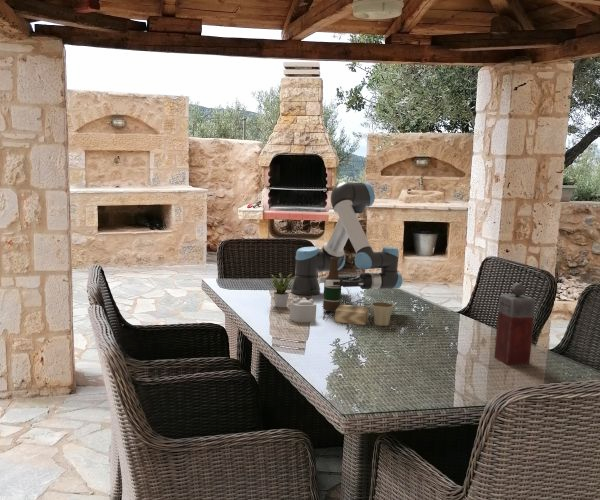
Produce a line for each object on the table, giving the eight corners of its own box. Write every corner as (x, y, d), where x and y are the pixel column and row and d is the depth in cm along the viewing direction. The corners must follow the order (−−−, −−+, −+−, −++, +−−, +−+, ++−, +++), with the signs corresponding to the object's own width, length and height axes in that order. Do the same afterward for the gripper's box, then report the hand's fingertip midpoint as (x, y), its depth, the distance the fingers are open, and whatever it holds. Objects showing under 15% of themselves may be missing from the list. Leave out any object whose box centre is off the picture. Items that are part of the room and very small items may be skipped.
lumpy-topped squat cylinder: (294, 322, 279) (295, 302, 278) (286, 315, 291) (287, 296, 290) (317, 322, 282) (319, 302, 281) (308, 315, 294) (309, 295, 293)
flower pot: (391, 328, 277) (393, 307, 276) (369, 325, 279) (370, 305, 278) (393, 322, 287) (394, 303, 285) (371, 320, 288) (372, 301, 287)
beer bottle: (340, 311, 298) (343, 259, 295) (322, 311, 298) (325, 258, 295) (339, 308, 306) (342, 256, 303) (322, 307, 306) (325, 255, 303)
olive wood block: (334, 321, 283) (335, 310, 283) (339, 315, 296) (339, 304, 295) (365, 324, 281) (366, 313, 280) (368, 318, 293) (369, 307, 293)
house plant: (300, 304, 316) (301, 270, 314) (297, 310, 302) (298, 274, 300) (270, 302, 317) (271, 268, 315) (266, 308, 303) (267, 272, 301)
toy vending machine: (512, 355, 245) (519, 280, 241) (529, 364, 234) (537, 285, 230) (490, 355, 243) (497, 279, 239) (506, 364, 232) (513, 285, 228)
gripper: (378, 293, 297) (330, 294, 290) (360, 284, 316) (314, 285, 309) (379, 276, 296) (331, 277, 289) (361, 269, 315) (315, 269, 308)
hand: (322, 281), depth 299 cm, fingers closed on beer bottle, 7 cm apart
